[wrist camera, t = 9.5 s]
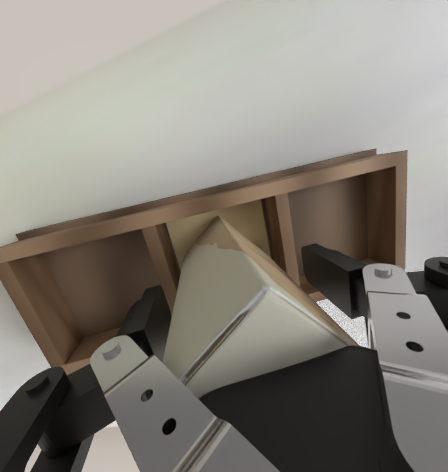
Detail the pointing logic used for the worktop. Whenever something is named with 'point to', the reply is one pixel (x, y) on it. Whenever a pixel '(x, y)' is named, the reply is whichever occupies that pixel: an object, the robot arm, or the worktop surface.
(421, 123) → the worktop surface
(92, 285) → the tray
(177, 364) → the box
